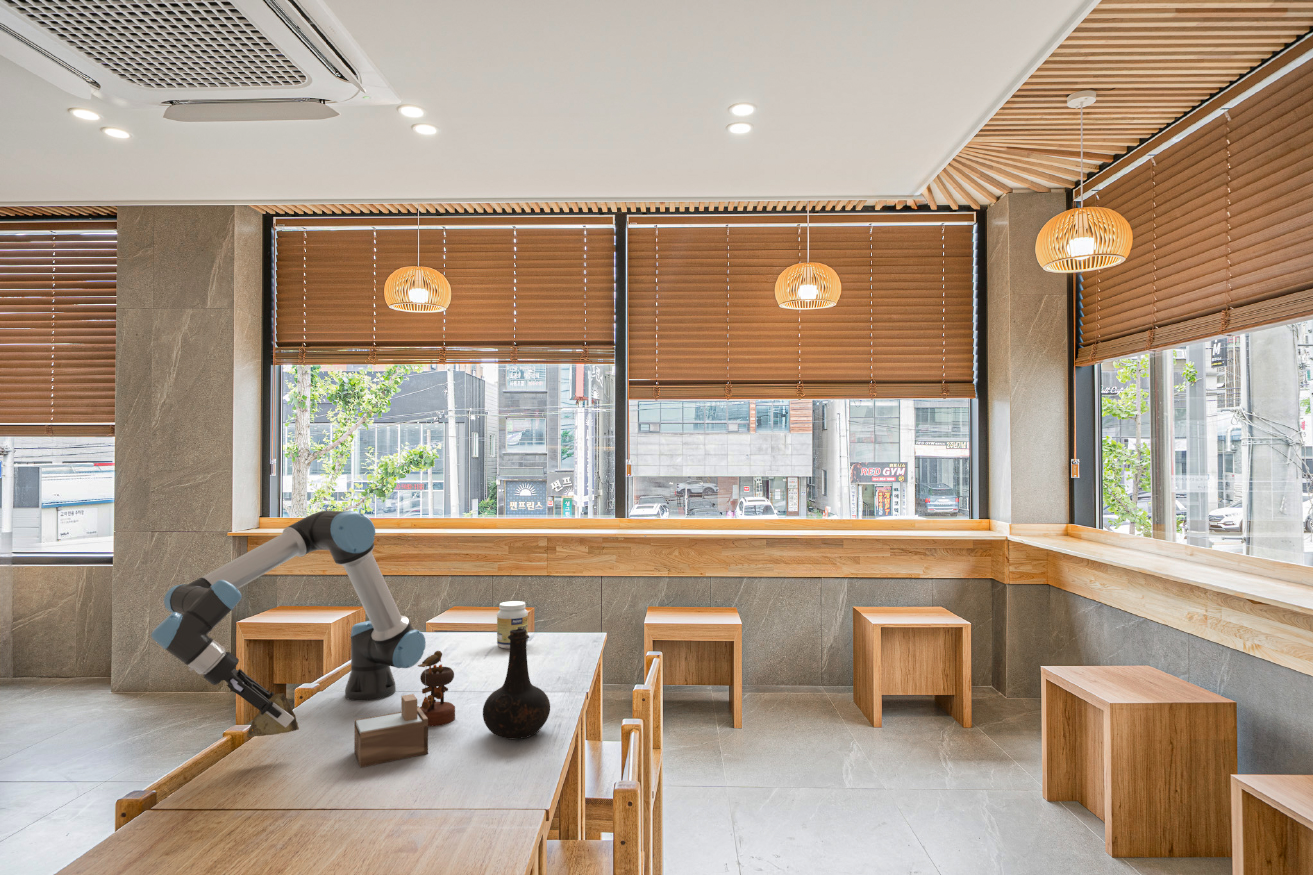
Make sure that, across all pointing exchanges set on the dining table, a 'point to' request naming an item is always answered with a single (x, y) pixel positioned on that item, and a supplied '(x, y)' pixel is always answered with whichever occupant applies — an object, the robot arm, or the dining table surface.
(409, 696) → the lid
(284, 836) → the dining table surface
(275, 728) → the rock
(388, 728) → the box
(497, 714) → the glass bottle
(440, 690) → the wooden bird figurine
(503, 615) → the supplement tub
